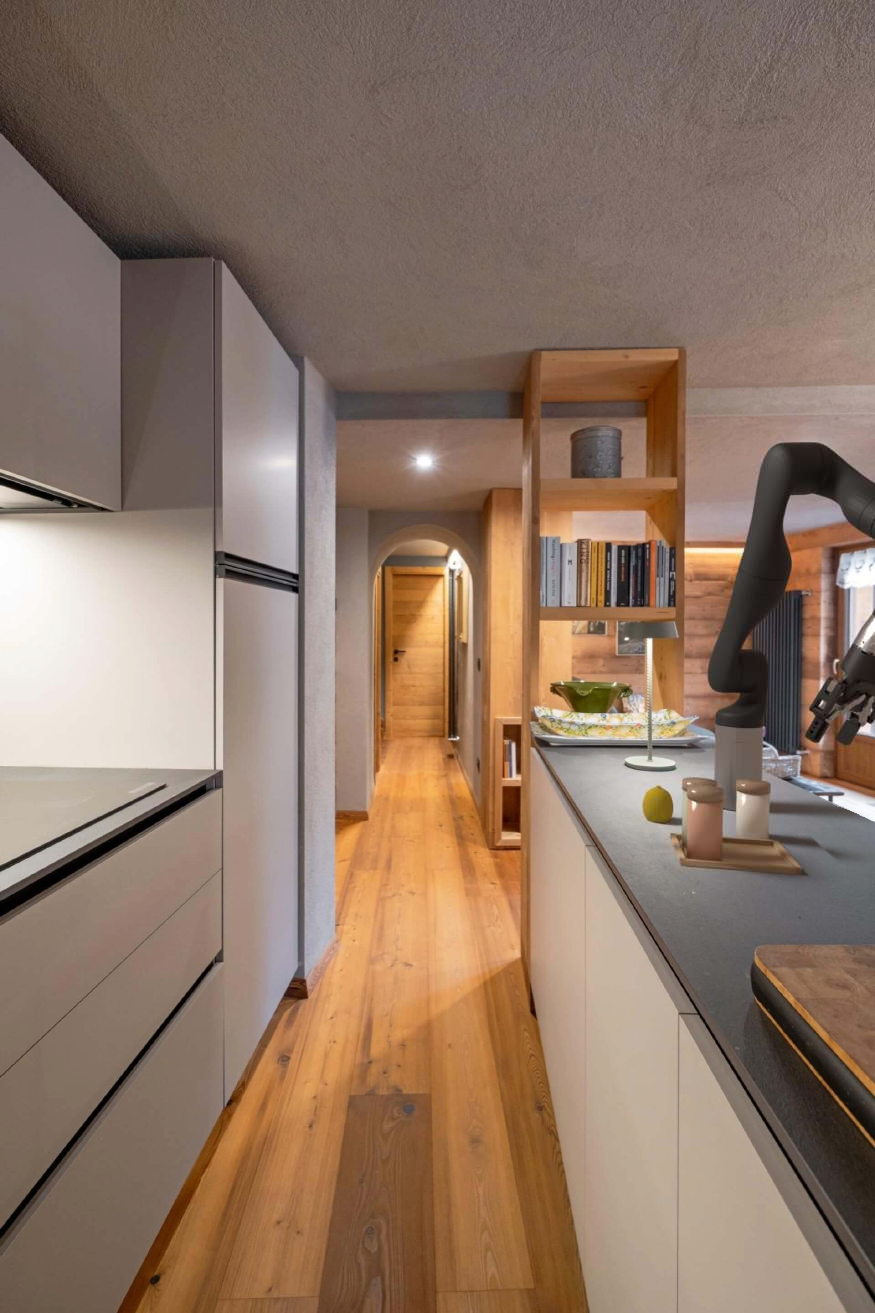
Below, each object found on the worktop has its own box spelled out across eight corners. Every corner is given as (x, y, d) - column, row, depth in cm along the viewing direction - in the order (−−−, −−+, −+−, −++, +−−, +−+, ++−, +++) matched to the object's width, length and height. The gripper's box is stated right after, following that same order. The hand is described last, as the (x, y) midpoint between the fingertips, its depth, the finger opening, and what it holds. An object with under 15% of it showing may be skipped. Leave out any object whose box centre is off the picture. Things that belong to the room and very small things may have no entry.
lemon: (675, 832, 124) (675, 789, 124) (643, 831, 125) (644, 788, 125) (670, 824, 130) (671, 783, 129) (640, 822, 131) (641, 781, 130)
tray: (669, 846, 116) (670, 833, 116) (776, 853, 113) (777, 840, 113) (680, 875, 103) (680, 860, 103) (802, 884, 99) (803, 869, 99)
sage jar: (679, 840, 115) (680, 776, 114) (713, 843, 113) (714, 778, 113) (683, 851, 109) (684, 783, 109) (719, 853, 108) (720, 785, 108)
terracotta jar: (683, 851, 109) (684, 783, 109) (719, 853, 108) (720, 785, 108) (688, 862, 104) (689, 791, 103) (725, 865, 103) (727, 793, 102)
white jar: (732, 839, 120) (733, 778, 120) (764, 841, 119) (766, 779, 119) (738, 848, 115) (740, 785, 115) (772, 851, 114) (774, 786, 114)
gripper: (882, 646, 109) (831, 731, 114) (831, 634, 102) (780, 726, 107) (928, 667, 103) (872, 756, 108) (878, 656, 96) (820, 752, 101)
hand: (826, 741), depth 108 cm, fingers open, 8 cm apart
